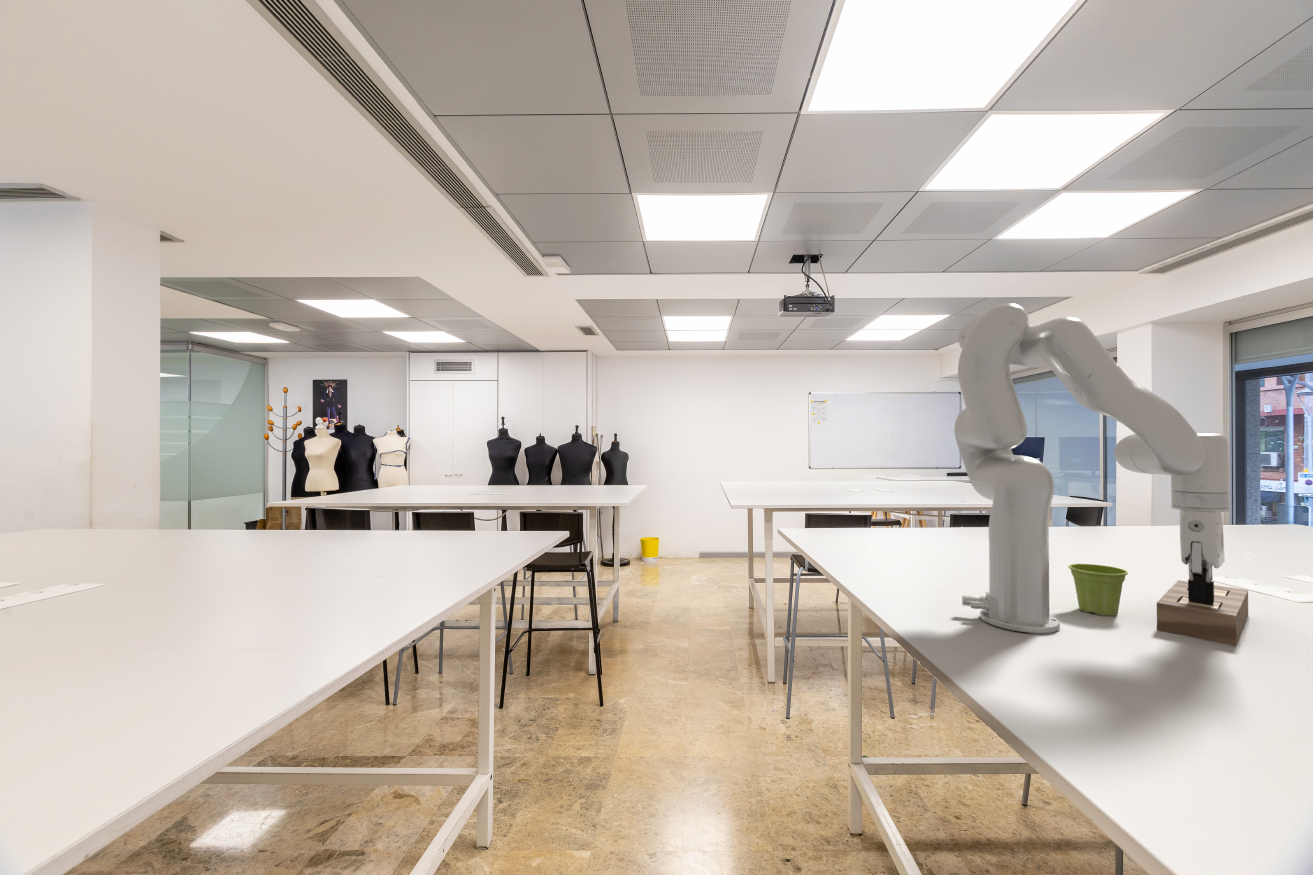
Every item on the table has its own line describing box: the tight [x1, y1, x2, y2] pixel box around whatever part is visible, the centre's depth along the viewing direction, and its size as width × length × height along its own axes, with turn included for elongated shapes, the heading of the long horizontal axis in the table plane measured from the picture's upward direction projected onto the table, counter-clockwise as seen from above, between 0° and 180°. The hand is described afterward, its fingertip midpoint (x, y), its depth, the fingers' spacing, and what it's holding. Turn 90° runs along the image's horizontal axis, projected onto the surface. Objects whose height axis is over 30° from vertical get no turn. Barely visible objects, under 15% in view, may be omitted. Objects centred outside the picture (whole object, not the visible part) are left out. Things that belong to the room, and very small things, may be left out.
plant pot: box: [1068, 563, 1129, 617], centre depth 112 cm, size 9×9×9 cm
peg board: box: [1156, 579, 1249, 646], centre depth 105 cm, size 24×10×5 cm, turn 130°
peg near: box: [1179, 597, 1221, 609], centre depth 101 cm, size 5×5×5 cm
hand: (1201, 602), depth 101 cm, fingers closed
